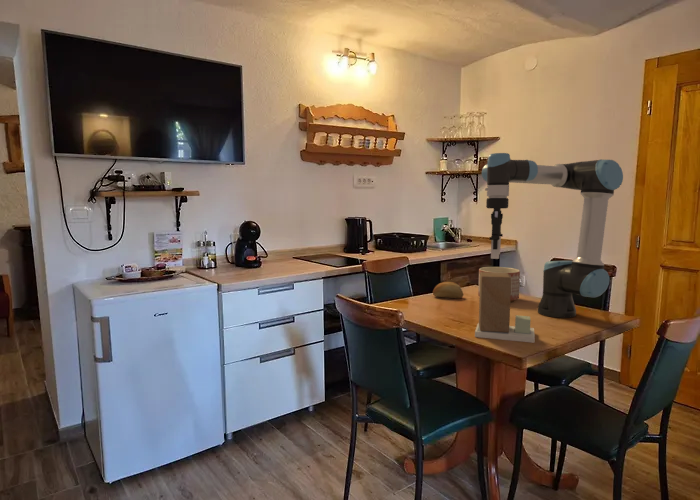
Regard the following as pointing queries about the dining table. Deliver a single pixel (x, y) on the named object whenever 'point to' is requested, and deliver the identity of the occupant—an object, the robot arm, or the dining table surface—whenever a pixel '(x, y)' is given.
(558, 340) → the dining table surface
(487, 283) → the wooden block
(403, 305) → the dining table surface
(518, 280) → the planter
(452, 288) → the bread roll
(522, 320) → the sage cube
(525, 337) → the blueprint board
